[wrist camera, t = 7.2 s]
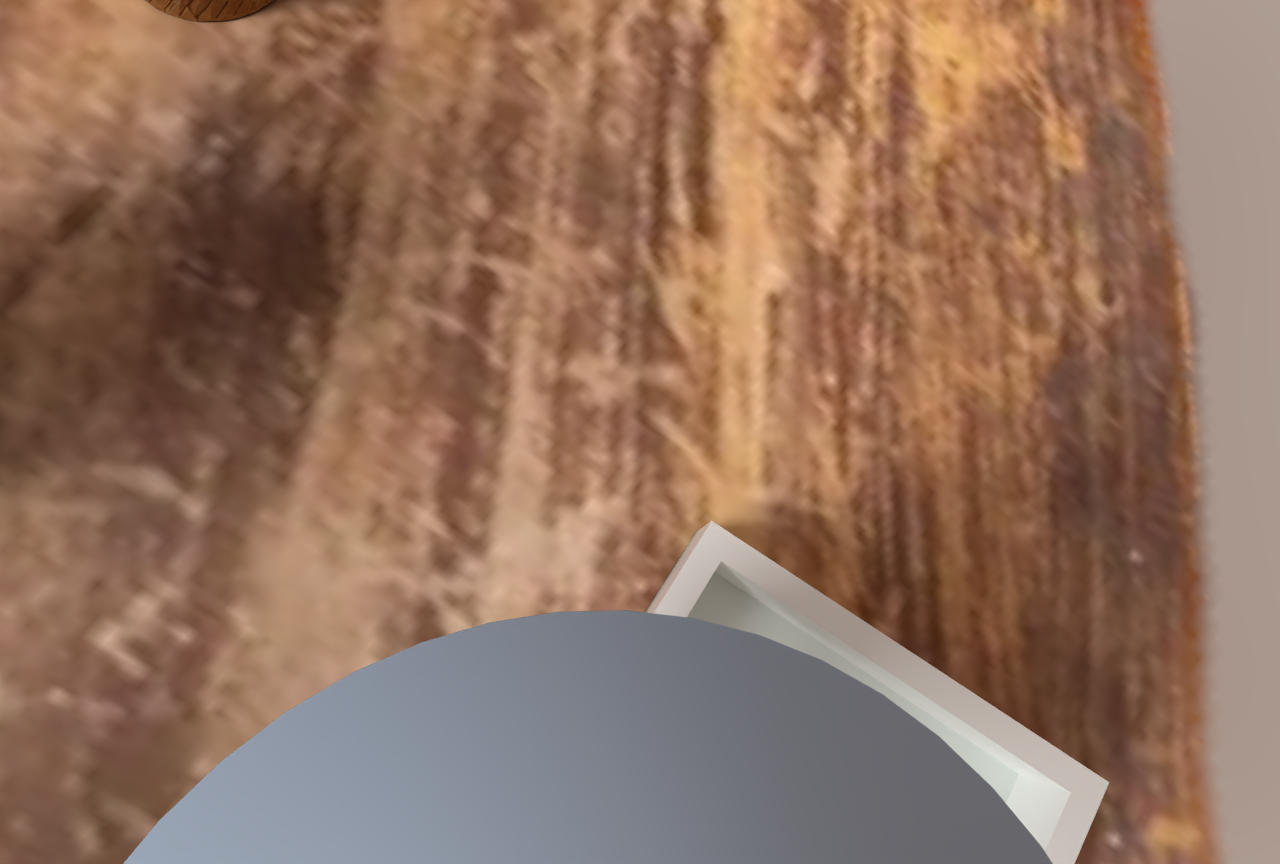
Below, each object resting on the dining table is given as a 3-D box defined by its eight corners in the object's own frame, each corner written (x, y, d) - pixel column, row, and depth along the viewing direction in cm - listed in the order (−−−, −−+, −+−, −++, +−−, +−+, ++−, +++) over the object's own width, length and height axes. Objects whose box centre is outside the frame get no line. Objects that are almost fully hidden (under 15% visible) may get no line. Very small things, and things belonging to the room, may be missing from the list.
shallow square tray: (1041, 761, 23) (1109, 782, 20) (844, 1194, 20) (890, 1294, 17) (695, 532, 24) (711, 520, 21) (455, 913, 21) (435, 962, 18)
